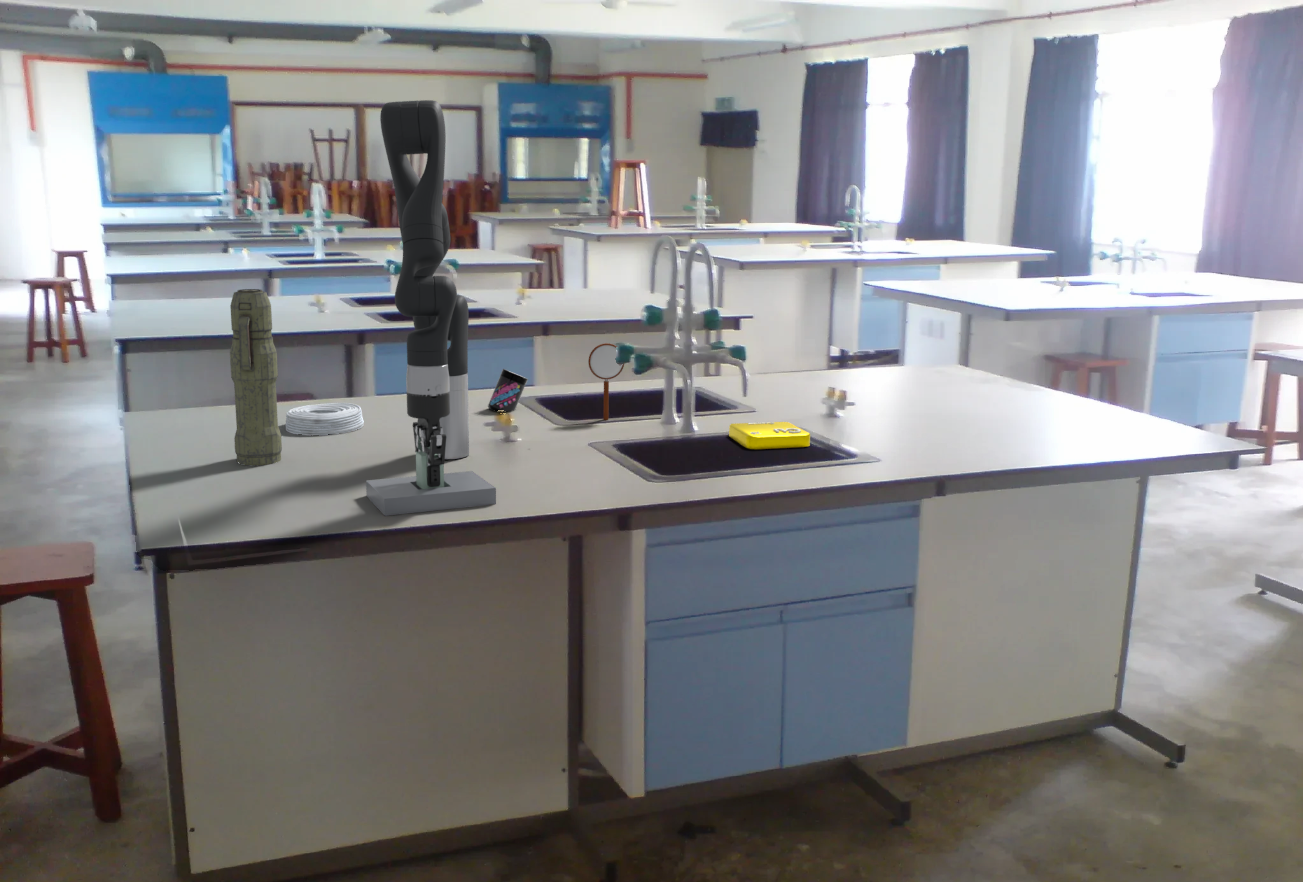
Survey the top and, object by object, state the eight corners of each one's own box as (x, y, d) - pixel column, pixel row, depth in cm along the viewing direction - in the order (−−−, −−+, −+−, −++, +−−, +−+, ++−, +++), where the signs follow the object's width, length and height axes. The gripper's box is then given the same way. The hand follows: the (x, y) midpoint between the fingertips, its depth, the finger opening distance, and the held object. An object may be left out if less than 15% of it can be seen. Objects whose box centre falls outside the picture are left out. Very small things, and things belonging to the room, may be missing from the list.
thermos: (231, 471, 230) (220, 292, 223) (241, 457, 242) (231, 287, 235) (277, 470, 232) (269, 292, 225) (285, 456, 243) (277, 287, 236)
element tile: (787, 439, 271) (788, 419, 270) (812, 453, 257) (813, 432, 256) (726, 441, 267) (726, 421, 266) (748, 456, 253) (749, 434, 252)
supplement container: (481, 405, 289) (497, 366, 289) (500, 411, 294) (516, 373, 294) (498, 413, 285) (514, 373, 284) (517, 420, 290) (533, 381, 290)
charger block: (416, 484, 212) (415, 451, 210) (438, 482, 213) (437, 449, 212) (422, 489, 208) (421, 456, 207) (444, 487, 210) (443, 454, 209)
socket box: (366, 496, 213) (365, 480, 213) (472, 486, 222) (472, 470, 221) (384, 515, 201) (384, 498, 200) (496, 504, 209) (495, 487, 209)
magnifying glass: (623, 425, 282) (624, 342, 278) (624, 426, 281) (625, 343, 276) (587, 425, 281) (588, 343, 277) (588, 427, 279) (589, 343, 275)
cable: (374, 428, 275) (374, 402, 274) (349, 443, 258) (348, 416, 257) (303, 425, 277) (301, 400, 276) (272, 440, 260) (271, 413, 259)
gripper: (397, 384, 212) (399, 476, 215) (417, 397, 199) (420, 494, 203) (437, 382, 215) (439, 472, 219) (460, 394, 202) (462, 490, 206)
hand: (430, 482), depth 211 cm, fingers closed on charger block, 4 cm apart
